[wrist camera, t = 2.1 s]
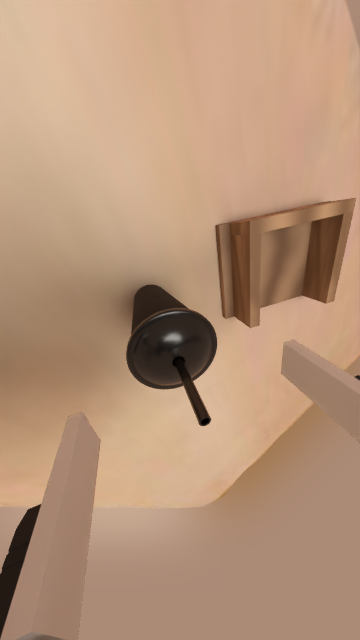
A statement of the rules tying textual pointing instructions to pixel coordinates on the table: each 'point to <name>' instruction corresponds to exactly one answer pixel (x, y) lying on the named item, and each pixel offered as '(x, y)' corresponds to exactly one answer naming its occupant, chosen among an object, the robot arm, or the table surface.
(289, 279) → the u rest
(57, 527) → the robot arm
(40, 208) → the table surface
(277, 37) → the table surface
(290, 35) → the table surface
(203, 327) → the drinking cup
